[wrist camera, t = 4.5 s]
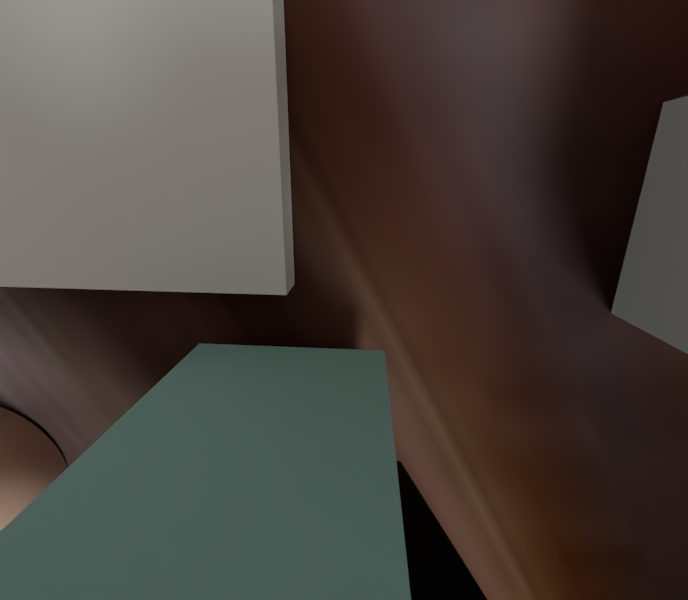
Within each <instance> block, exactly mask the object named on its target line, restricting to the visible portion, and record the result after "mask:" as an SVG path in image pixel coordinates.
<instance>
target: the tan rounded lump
mask: <svg viewBox="0 0 688 600" xmlns="http://www.w3.org/2000/svg"><path fill="white" fill-rule="evenodd" d="M66 469H67V465H66V463H65V461H64V458H63V456H62V455H61V453H60V451H59V450H58V448H57V447H56V446H55V444H54V443H53V442H52V441H51V440H50V439H49V438H48V436H47V435H46V434H44V433H43V432H42V431H41V430H40V429H39V428H38V427H36V426H35V425H34V424H32V423H31V422H29V421H28V420H26V419H25V418H23V417H22V416H20V415H18V414H16V413H14V412H12V411H9V410H7V409H5V408H2V407H0V531H1V530H2V529H3V528H4V527H6V526H7V525H8V524H9V523H10V522H11V521H12V520H13V519H14V518H15V517H16V516H17V515H18V514H19V513H20V512H21V511H22V510H24V509H25V508H26V507H27V506H28V505H29V504H30V503H31V502H32V501H33V500H34V499H35V498H36V497H37V496H38V495H39V494H40V493H42V492H43V491H44V490H45V489H46V488H47V487H48V486H49V485H50V484H51V483H52V482H53V481H54V480H55V479H56V478H57V477H58V476H60V475H61V474H62V473H63V472H64V471H65V470H66Z"/></svg>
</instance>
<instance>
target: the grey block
mask: <svg viewBox="0 0 688 600" xmlns="http://www.w3.org/2000/svg"><path fill="white" fill-rule="evenodd" d="M611 313H612V314H614V315H616V316H618V317H619V318H621V319H623V320H625V321H627V322H629V323H631V324H633V325H634V326H636V327H638V328H640V329H642V330H644V331H646V332H648V333H650V334H651V335H653V336H655V337H657V338H659V339H661V340H663V341H665V342H666V343H668V344H670V345H672V346H674V347H676V348H678V349H680V350H682V351H683V352H685V353H687V354H688V96H685V97H681V98H678V99H674V100H670V101H667V102H663V106H662V110H661V114H660V118H659V122H658V126H657V130H656V134H655V138H654V142H653V146H652V150H651V154H650V158H649V162H648V166H647V170H646V174H645V178H644V182H643V186H642V190H641V194H640V198H639V202H638V206H637V210H636V214H635V218H634V222H633V226H632V230H631V234H630V238H629V242H628V246H627V250H626V254H625V258H624V262H623V266H622V270H621V274H620V278H619V282H618V286H617V290H616V294H615V298H614V302H613V306H612V310H611Z"/></svg>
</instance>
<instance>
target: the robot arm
mask: <svg viewBox="0 0 688 600" xmlns="http://www.w3.org/2000/svg"><path fill="white" fill-rule="evenodd" d="M396 462H397V471H398V481H399V490H400V499H401V509H402V518H403V528H404V537H405V547H406V556H407V565H408V575H409V584H410V594H411V600H487V598H486V597H485V595H484V594H483V592H482V590H481V589H480V587H479V586H478V584H477V582H476V581H475V579H474V578H473V576H472V574H471V573H470V571H469V570H468V568H467V566H466V565H465V563H464V562H463V560H462V559H461V557H460V555H459V554H458V552H457V551H456V549H455V547H454V546H453V544H452V543H451V541H450V539H449V538H448V536H447V535H446V533H445V531H444V530H443V528H442V527H441V525H440V523H439V522H438V520H437V519H436V517H435V515H434V514H433V512H432V511H431V509H430V508H429V506H428V504H427V503H426V501H425V500H424V498H423V496H422V495H421V493H420V492H419V490H418V488H417V487H416V485H415V484H414V482H413V480H412V479H411V477H410V476H409V474H408V472H407V471H406V469H405V468H404V466H403V464H402V463H401V462H400V461H397V460H396Z"/></svg>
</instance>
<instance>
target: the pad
mask: <svg viewBox="0 0 688 600" xmlns="http://www.w3.org/2000/svg"><path fill="white" fill-rule="evenodd" d="M294 284H295V278H294V252H293V227H292V201H291V176H290V150H289V125H288V100H287V74H286V49H285V23H284V0H0V287H31V288H64V289H98V290H131V291H165V292H198V293H231V294H265V295H287V294H288V293H289V291H290V290H291V288H292V287H293V286H294Z"/></svg>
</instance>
